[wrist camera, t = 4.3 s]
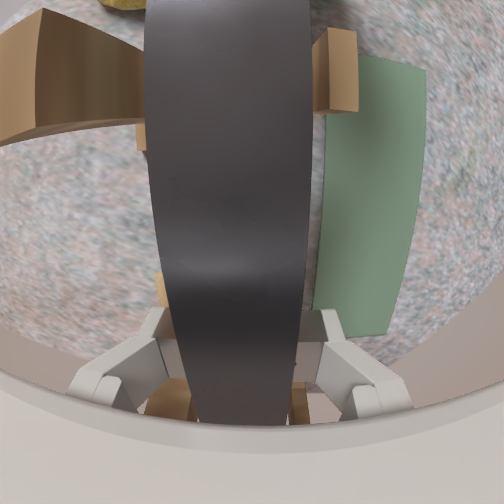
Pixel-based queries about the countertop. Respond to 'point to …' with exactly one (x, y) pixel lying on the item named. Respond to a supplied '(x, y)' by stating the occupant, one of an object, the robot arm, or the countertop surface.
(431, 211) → the countertop surface
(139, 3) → the bread roll
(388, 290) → the mat
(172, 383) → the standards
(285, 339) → the rail
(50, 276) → the countertop surface
